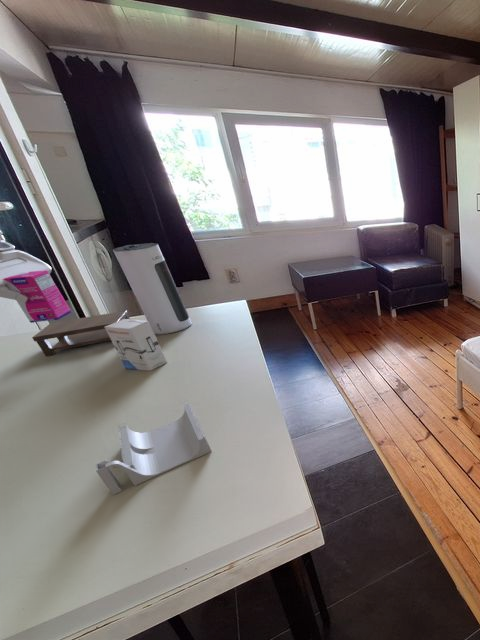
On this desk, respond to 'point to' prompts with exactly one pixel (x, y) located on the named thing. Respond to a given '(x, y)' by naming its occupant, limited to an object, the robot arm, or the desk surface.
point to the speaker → (153, 287)
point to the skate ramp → (156, 450)
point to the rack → (77, 332)
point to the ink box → (136, 344)
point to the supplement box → (39, 296)
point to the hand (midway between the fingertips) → (41, 295)
